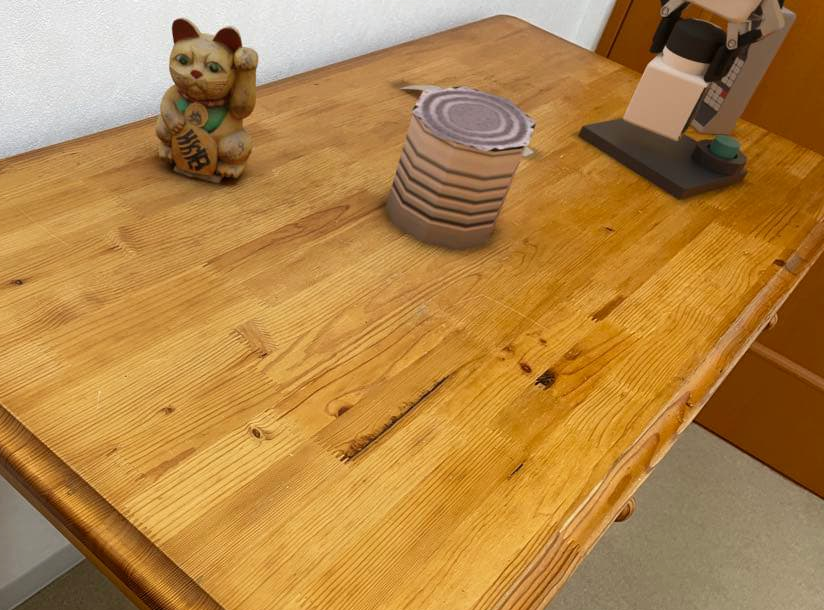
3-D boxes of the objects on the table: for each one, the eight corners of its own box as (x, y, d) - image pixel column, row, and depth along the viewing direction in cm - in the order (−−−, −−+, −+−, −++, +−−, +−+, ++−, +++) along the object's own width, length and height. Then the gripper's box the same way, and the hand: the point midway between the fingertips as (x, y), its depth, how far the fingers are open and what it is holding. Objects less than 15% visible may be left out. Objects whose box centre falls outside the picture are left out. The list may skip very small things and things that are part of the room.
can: (514, 245, 86) (560, 136, 78) (426, 262, 81) (466, 146, 73) (447, 187, 93) (484, 81, 85) (362, 199, 88) (393, 87, 79)
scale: (741, 184, 107) (756, 159, 105) (677, 203, 100) (692, 176, 98) (641, 126, 116) (653, 101, 113) (576, 139, 109) (587, 113, 106)
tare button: (738, 158, 105) (746, 145, 104) (724, 162, 104) (732, 148, 102) (717, 146, 107) (724, 133, 106) (703, 149, 105) (710, 136, 104)
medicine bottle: (677, 142, 102) (729, 42, 94) (621, 120, 104) (667, 20, 96) (690, 126, 106) (741, 28, 98) (636, 104, 109) (682, 7, 101)
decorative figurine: (146, 176, 83) (156, 20, 73) (163, 139, 90) (175, -10, 79) (242, 197, 84) (266, 44, 74) (253, 158, 90) (276, 13, 80)
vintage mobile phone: (684, 123, 119) (786, -72, 102) (712, 125, 121) (818, -67, 104) (699, 136, 117) (806, -62, 100) (728, 137, 118) (838, -57, 101)
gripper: (862, -75, 86) (764, 95, 98) (718, -127, 95) (645, 34, 107) (826, -75, 82) (728, 102, 94) (680, -129, 91) (608, 38, 103)
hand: (685, 64), depth 100 cm, fingers closed on medicine bottle, 7 cm apart
